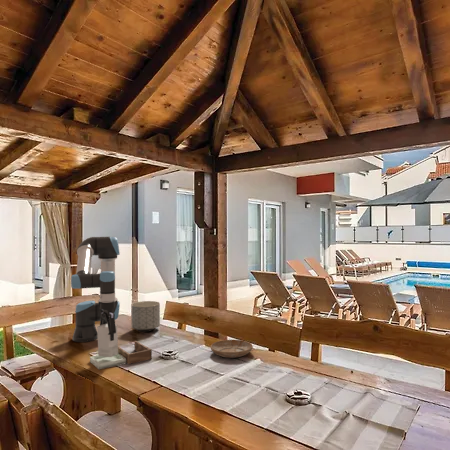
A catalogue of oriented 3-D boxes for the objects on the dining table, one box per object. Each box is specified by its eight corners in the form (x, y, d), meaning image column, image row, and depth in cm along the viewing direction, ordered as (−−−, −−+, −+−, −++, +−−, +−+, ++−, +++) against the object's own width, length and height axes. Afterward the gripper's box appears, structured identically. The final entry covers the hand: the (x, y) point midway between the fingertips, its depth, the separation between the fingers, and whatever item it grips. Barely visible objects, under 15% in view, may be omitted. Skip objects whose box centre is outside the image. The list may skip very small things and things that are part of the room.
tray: (89, 361, 199) (89, 356, 199) (115, 356, 207) (115, 351, 207) (98, 369, 187) (98, 364, 187) (126, 363, 196) (125, 358, 196)
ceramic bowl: (258, 350, 215) (258, 341, 215) (243, 364, 194) (243, 354, 194) (221, 345, 225) (221, 337, 225) (203, 358, 204) (203, 348, 204)
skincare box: (118, 354, 199) (118, 324, 199) (110, 358, 193) (110, 327, 193) (105, 352, 202) (104, 323, 202) (97, 356, 195) (96, 326, 196)
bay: (114, 354, 211) (114, 345, 211) (136, 349, 218) (136, 340, 218) (128, 364, 195) (128, 354, 195) (151, 358, 202) (151, 349, 202)
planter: (157, 334, 250) (156, 306, 250) (128, 334, 251) (128, 306, 251) (162, 326, 269) (162, 300, 269) (135, 326, 270) (135, 301, 270)
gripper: (93, 299, 204) (93, 340, 204) (108, 305, 186) (108, 351, 186) (107, 297, 209) (107, 338, 209) (122, 303, 191) (123, 348, 191)
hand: (107, 344), depth 197 cm, fingers closed on skincare box, 10 cm apart
